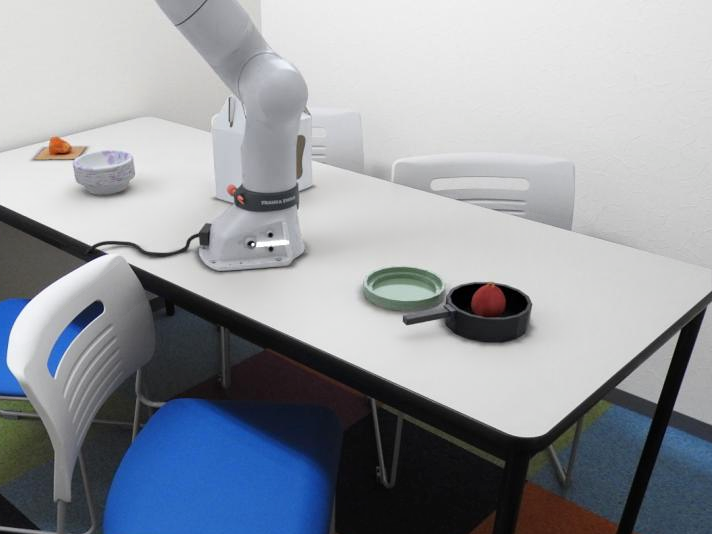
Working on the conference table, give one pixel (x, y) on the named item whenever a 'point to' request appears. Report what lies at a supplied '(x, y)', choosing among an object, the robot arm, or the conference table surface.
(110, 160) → the paper bowls
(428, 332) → the conference table surface
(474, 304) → the onion
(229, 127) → the gable box
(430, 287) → the plate
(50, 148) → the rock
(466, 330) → the pan
